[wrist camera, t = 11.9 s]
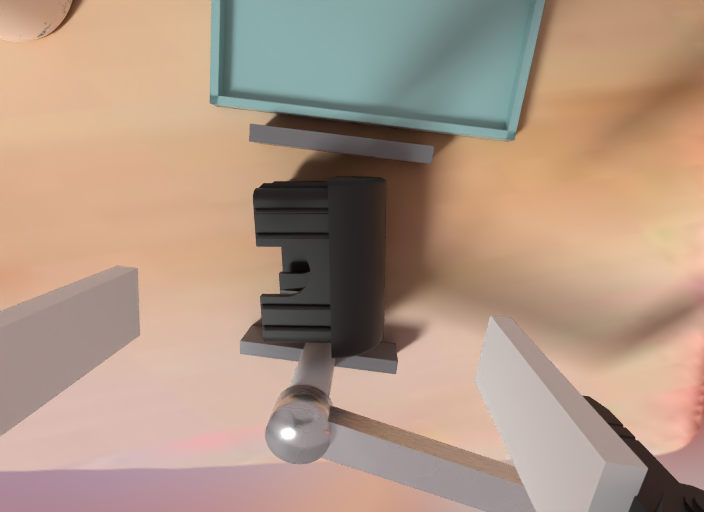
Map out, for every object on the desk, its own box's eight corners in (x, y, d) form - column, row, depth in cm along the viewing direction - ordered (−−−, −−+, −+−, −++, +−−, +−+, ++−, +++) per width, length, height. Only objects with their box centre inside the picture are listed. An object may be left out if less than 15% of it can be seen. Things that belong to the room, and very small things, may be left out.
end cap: (381, 313, 27) (385, 361, 20) (287, 311, 27) (261, 359, 20) (383, 175, 24) (389, 179, 18) (279, 176, 24) (247, 180, 18)
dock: (250, 345, 28) (206, 413, 20) (262, 128, 24) (212, 110, 16) (392, 363, 27) (400, 439, 20) (427, 148, 23) (456, 139, 16)
